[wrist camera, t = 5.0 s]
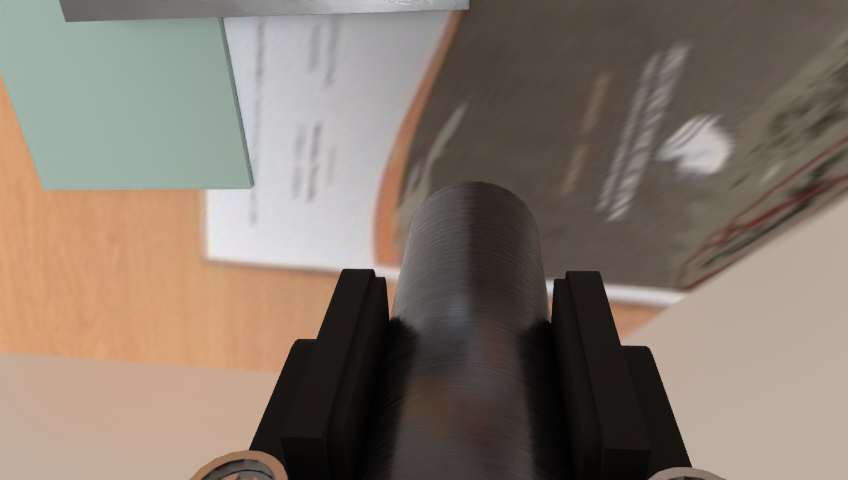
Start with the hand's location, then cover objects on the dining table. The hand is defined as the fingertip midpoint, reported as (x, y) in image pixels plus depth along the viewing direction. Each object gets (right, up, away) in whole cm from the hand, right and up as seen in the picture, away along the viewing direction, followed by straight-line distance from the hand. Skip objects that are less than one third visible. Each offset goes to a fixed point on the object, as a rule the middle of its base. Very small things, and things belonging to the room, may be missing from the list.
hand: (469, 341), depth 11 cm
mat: (-14, +9, +15) cm, 23 cm away
